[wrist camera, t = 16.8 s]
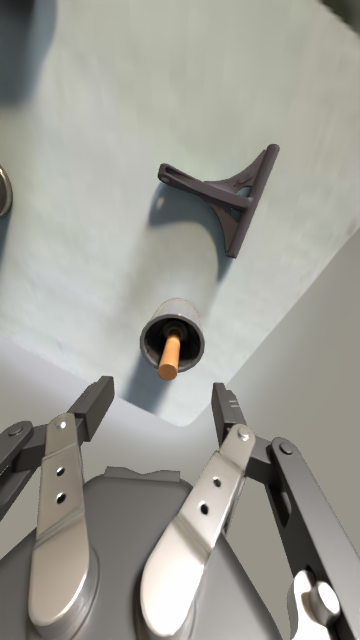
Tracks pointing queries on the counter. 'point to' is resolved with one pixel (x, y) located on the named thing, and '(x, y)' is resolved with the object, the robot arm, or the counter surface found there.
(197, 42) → the counter surface
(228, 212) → the bracket
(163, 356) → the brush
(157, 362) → the grey metal cup
